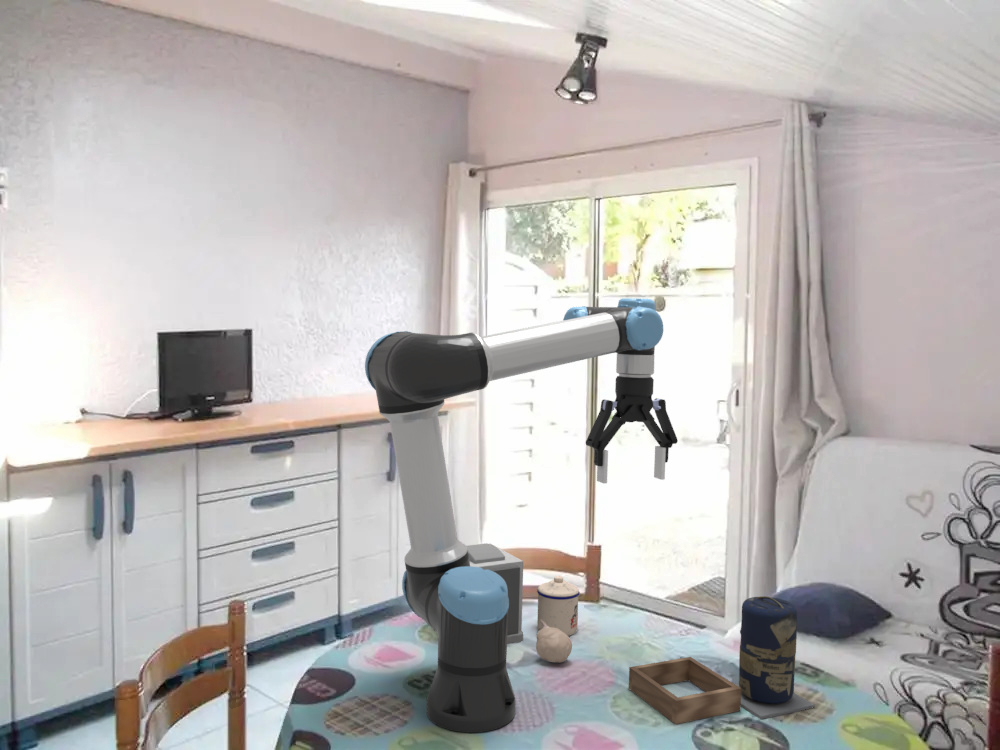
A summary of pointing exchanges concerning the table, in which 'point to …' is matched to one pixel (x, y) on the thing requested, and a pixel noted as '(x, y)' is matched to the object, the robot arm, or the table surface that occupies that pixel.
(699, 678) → the holder
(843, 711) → the table surface
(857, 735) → the table surface
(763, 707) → the mat
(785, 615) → the canister
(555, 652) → the garlic bulb
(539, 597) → the teacup with lid
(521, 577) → the alarm clock
